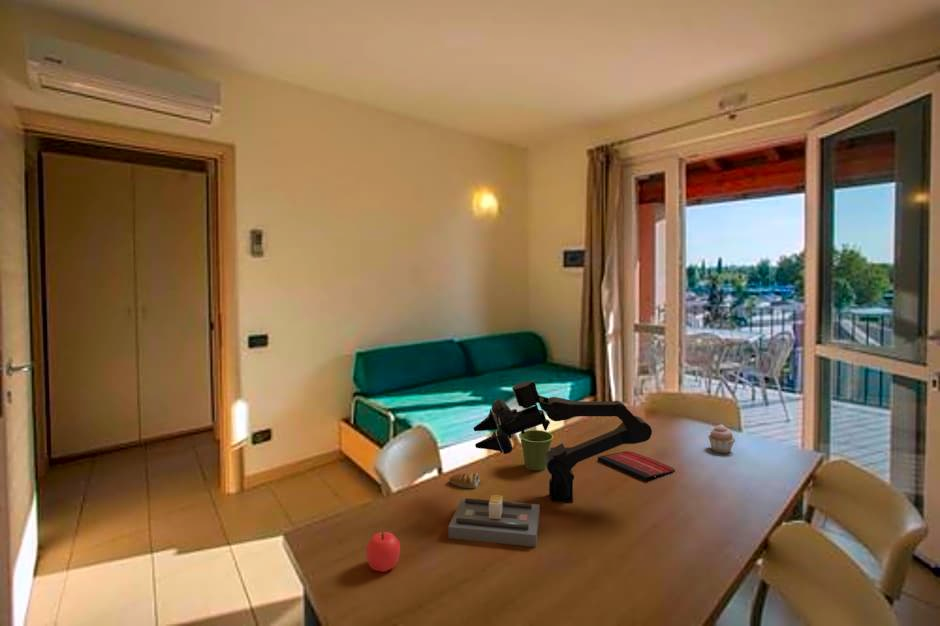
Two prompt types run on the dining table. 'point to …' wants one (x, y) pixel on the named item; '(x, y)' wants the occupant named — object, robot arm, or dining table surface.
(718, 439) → the cupcake
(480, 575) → the dining table surface
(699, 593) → the dining table surface
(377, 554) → the apple
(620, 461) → the binder
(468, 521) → the slide switch base
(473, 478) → the pastry
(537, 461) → the plant pot
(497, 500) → the switch knob
